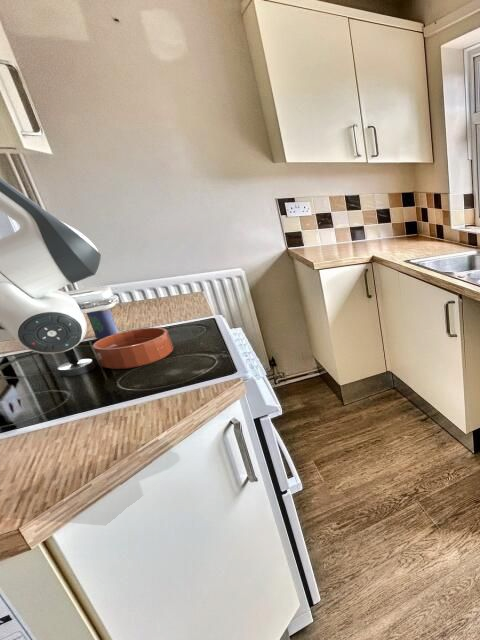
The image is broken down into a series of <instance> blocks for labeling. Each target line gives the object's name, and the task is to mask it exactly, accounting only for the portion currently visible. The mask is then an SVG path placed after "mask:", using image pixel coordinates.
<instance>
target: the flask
mask: <svg viewBox="0 0 480 640" xmlns="http://www.w3.org/2000/svg"><path fill="white" fill-rule="evenodd" d="M86 316H87V318H88V320H89V323H90V325H91V328H92V330H93V333H94V337H95V338H96V339H99V340H100V339H102V338H105V337H107V336H110V335H114V334H117V333H120V331H119V329H118V326H117V324H116V321H115V319H114V316H113V314H112V311H111V308H109V309H105V310H100V311H95V312H89V313H86Z"/></svg>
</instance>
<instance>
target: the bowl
mask: <svg viewBox="0 0 480 640" xmlns="http://www.w3.org/2000/svg"><path fill="white" fill-rule="evenodd" d="M92 348H93V350H94V352H95V354H96V357H97V359H98V362H99V364H100V366H101V367H102V368H105V369H110V370H125V369H132V368H137V367H142V366H146V365H149V364H152V363H155V362H157V361H160V360H162V359H164V358H166V357H168V356H169V355H170V354H171V353H172V352H173V351H174V345H173V342H172V340H171V337H170V334H169V331H168V329H166V328H164V327H142V328H136V329H129V330H126V331H121V332H120V331H119V333H117V334H114V335H110V336H107V337H105V338H102V339H99V340H97V341H95V342H94V343H93V344H92Z"/></svg>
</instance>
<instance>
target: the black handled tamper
mask: <svg viewBox="0 0 480 640" xmlns="http://www.w3.org/2000/svg"><path fill="white" fill-rule="evenodd" d="M63 353H64V355H65V357H66V359H67V361H68V362H65V363H62V364H61V365H59V366H58V367H57V371H58V373H59V375H60V376H61V377H63V378H68V377H69V378H70V377H75V376H76V377H77V376H81V375H84V374H86V373H89V372H91V371H93V370H94V369H95V368H96V365H95V363H94V361H93V359H91V358H81V359H79V358H78V356H77V354H76V352H75V350H74V348H72V349H70V350H68V351H65V352H63Z"/></svg>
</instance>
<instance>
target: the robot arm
mask: <svg viewBox="0 0 480 640" xmlns="http://www.w3.org/2000/svg"><path fill="white" fill-rule="evenodd" d="M0 212H2V213H3V214H4V215H6V216H8V217H9V218H10V219H12V220H13V221H14V222H15V223H18V224H19V225H20V227H19V228H18V230H16V231H15V232H12V233H10V234H8V235H6V236H3V237H1V238H0V342H9V341H15V342H17V343H18V344H19V345H20V346H21V347H23V348H25V349H27V350H28V351H31V352H34V353H38V354H45V355H55V354H62V353H64V352H65V351H68V350H70V349H72V348H73V349H74V348H76V347H77V346H79V344H80V343H81V342H82V341H83V340H84V339H85V338H86V335H87V331H88V324H87V320H86V316H85V314H87V313H89V312H95V311H100V310H105V309H112V308H113V307H115V306H116V304H117V302H119V301H120V297H119V296H118V295H117V294H114V293H113V291H112V289H111V286H110V285H98V286H91V287H85V288H80V289H73V290H65V291H62V290H60V289H63V288H65V287H66V286H69V285H70V284H75V283H78V282H80V281H83V280H85V279H87V278H90V277H93V276H95V275H96V274H97V272H98V269H99V267H100V263H101V259H102V256H101V255H102V254H101V253H100V252H99V250H98V248H97V247H96V245H95V244H94V242H93V241H91V239H90V238H88V236H86V235H85V234H83V233H82V232H81V231H79V230H78V229H76V228H75V227H73V226H71V225H69V224H67V223H65V222H64V221H62V220H60V219H58V218H57V217H56V216H53V214H51V213H49V212H48V211H47V210H45V209H44V208H43V207H41V206H40V205H39V204H38V203H36V202H35V201H33V200H32V199H31V198H29V197H28V196H27V195H25V194H24V193H22V192H21V191H20V190H18V189H17V188H15V186H12V185H11V184H10V183H8V182H7V181H6V180H5V179H3V178H2V177H0Z"/></svg>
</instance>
